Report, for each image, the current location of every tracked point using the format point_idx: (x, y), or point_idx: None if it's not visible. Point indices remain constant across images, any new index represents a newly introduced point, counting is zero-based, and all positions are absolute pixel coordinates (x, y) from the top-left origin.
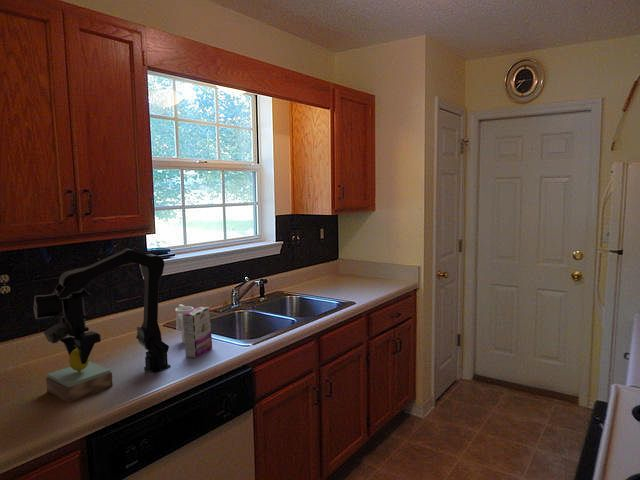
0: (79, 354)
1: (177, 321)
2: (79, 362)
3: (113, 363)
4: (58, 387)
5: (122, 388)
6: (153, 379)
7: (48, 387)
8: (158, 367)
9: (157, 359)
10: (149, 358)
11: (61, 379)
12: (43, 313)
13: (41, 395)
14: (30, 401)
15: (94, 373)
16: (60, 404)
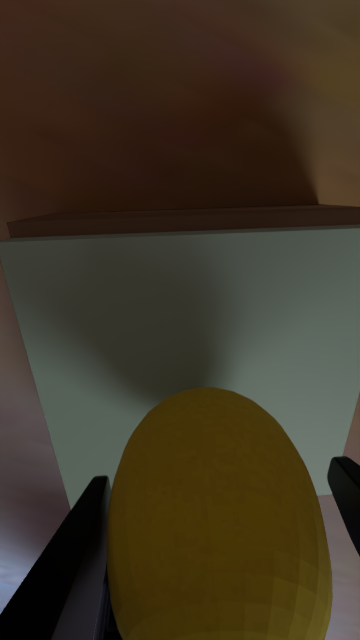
0: (48, 620)
1: None
2: (116, 478)
3: (329, 513)
4: (158, 215)
5: (35, 449)
6: (36, 538)
7: (312, 206)
8: (102, 587)
9: (96, 633)
10: (109, 631)
11: (164, 255)
12: None
13: (303, 156)
14: (279, 53)
15: (85, 448)
16: (64, 174)
